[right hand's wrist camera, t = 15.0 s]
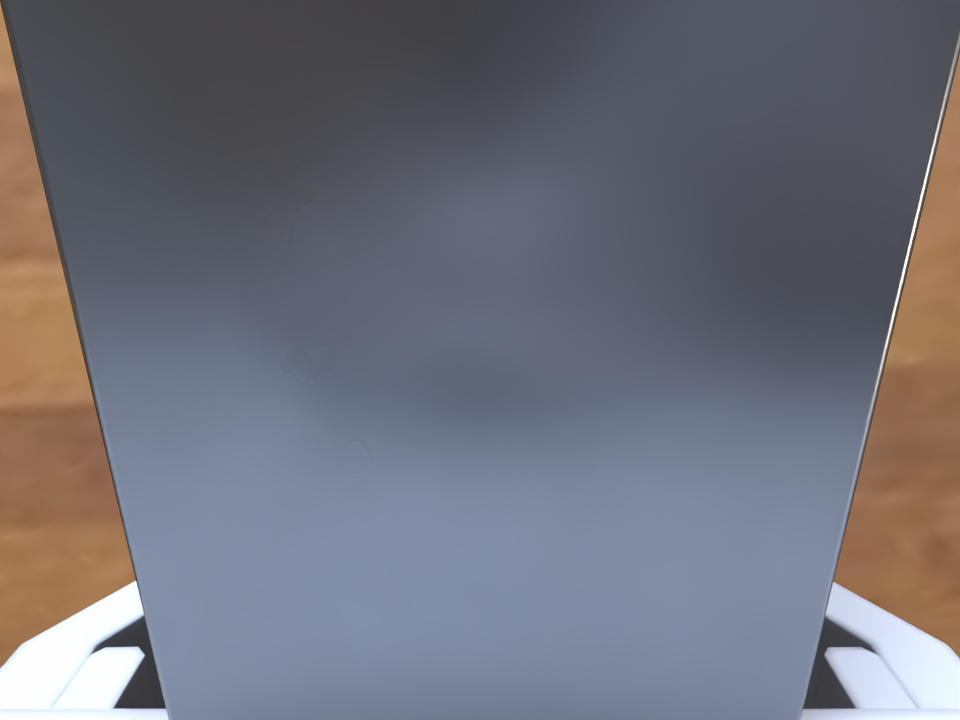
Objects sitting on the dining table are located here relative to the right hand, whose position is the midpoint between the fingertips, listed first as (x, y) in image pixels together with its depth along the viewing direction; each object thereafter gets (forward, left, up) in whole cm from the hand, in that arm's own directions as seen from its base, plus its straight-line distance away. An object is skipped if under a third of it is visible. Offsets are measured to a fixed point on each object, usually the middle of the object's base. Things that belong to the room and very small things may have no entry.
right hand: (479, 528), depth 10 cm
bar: (-10, -4, -3) cm, 11 cm away
